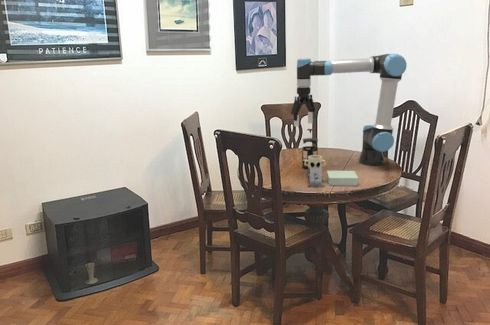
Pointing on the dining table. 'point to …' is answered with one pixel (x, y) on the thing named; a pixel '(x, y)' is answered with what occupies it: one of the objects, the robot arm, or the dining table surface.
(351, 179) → the stand
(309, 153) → the french press
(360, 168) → the dining table surface
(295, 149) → the dining table surface
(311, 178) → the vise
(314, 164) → the character mug
